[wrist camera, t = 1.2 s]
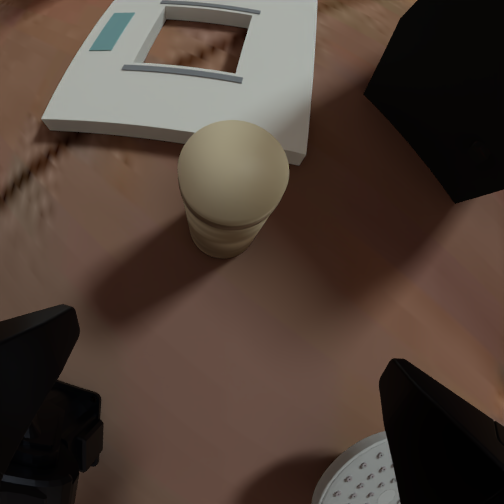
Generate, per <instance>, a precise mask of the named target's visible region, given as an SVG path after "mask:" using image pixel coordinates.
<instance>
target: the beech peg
mask: <svg viewBox="0 0 504 504" xmlns="http://www.w3.org/2000/svg"><path fill="white" fill-rule="evenodd" d="M288 180H289V163H288V159H287V156H286V154H285V151H284V149H283V148H282V146H281V145H280V143H279V142H278V141H277V139H276V138H275V137H274V136H273V135H271V134H270V133H269V132H268V131H266V130H265V129H263V128H261V127H259V126H257V125H255V124H252V123H249V122H245V121H239V120H224V121H219V122H215V123H212V124H209V125H207V126H205V127H203V128H201V129H200V130H198V131H197V132H196V133H194V134H193V135H192V136H191V137H190V138H189V139H188V141H187V142H186V143H185V145H184V147H183V149H182V151H181V153H180V156H179V160H178V182H179V188H180V192H181V196H182V199H183V202H184V207H185V212H186V216H187V221H188V225H189V230H190V234H191V237H192V240H193V241H194V243H195V245H196V246H197V247H198V248H199V249H200V250H201V251H202V252H203V253H205V254H207V255H209V256H211V257H214V258H220V259H226V258H232V257H235V256H237V255H239V254H241V253H242V252H244V251H245V250H246V249H247V248H248V247H249V246H250V244H251V243H252V241H253V240H254V238H255V237H256V235H257V234H258V232H259V231H260V229H261V228H262V226H263V225H264V223H265V221H266V220H267V218H268V217H269V215H270V214H271V213H272V212H273V211H274V210H275V208H276V207H277V205H278V204H279V202H280V200H281V198H282V196H283V194H284V192H285V190H286V187H287V184H288Z"/></svg>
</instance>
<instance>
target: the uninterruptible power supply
mask: <svg viewBox="0 0 504 504" xmlns="http://www.w3.org/2000/svg"><path fill="white" fill-rule="evenodd" d="M364 95H365V96H366V97H367V98H368V99H369V100H370V101H371V102H372V103H373V104H374V105H375V106H376V107H377V108H378V110H379V111H380V112H381V113H382V114H383V115H384V116H385V117H386V118H387V119H388V120H389V121H390V122H391V124H392V125H393V126H394V127H395V128H396V129H397V130H398V131H399V133H400V134H401V135H402V136H403V137H404V138H405V139H406V141H407V142H408V143H409V144H410V145H411V147H412V148H413V149H414V150H415V151H416V153H417V154H418V155H419V156H420V158H421V159H422V160H423V161H424V163H425V164H426V165H427V166H428V168H429V169H430V170H431V172H432V173H433V174H434V175H435V177H436V178H437V179H438V181H439V182H440V183H441V185H442V186H443V188H444V189H445V190H446V192H447V193H448V195H449V196H450V197H451V199H452V200H453V202H454V203H455V204H456V203H459V202H463V201H466V200H469V199H473V198H476V197H480V196H483V195H486V194H490V193H493V192H497V191H500V190H503V189H504V0H417V1H416V2H415V4H414V5H413V6H412V7H411V8H410V9H409V10H408V11H407V12H406V13H405V14H404V15H403V16H402V17H401V18H400V20H399V22H398V24H397V26H396V29H395V31H394V33H393V35H392V37H391V39H390V41H389V43H388V45H387V47H386V49H385V51H384V53H383V56H382V58H381V60H380V62H379V64H378V66H377V68H376V70H375V72H374V74H373V76H372V78H371V80H370V82H369V84H368V86H367V88H366V90H365V92H364Z"/></svg>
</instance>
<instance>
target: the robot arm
mask: <svg viewBox="0 0 504 504" xmlns="http://www.w3.org/2000/svg"><path fill="white" fill-rule="evenodd" d="M79 334H80V328H79V323H78V319H77V315H76V311H75V309H74V308H73V307H71V306H68V305H64V304H61V305H57V306H54V307H50V308H47V309H43V310H40V311H36V312H33V313H29V314H25V315H22V316H18V317H15V318H11V319H8V320H4V321H1V322H0V504H74V503H75V496H76V490H77V484H78V478H79V471H80V472H83V473H84V472H86V471H87V470H88V469H89V467H90V466H93V467H94V466H96V465H97V464H98V462H99V454H100V453H101V451H102V449H103V422H102V420H100V410H101V397H100V395H99V394H98V393H96V392H93V391H90V390H87V389H83V388H80V387H77V386H74V385H71V384H68V383H65V382H62V381H59V380H57V379H58V377H59V375H60V374H61V372H62V370H63V368H64V366H65V364H66V362H67V360H68V358H69V356H70V354H71V352H72V350H73V348H74V346H75V344H76V342H77V340H78V337H79ZM379 390H380V398H381V405H382V413H383V421H384V427H385V432H386V436H387V441H388V445H389V449H390V454H391V458H392V463H393V468H394V472H395V477H396V482H397V487H398V493H399V498H400V503H401V504H504V426H502V425H501V424H499V423H498V422H496V421H494V420H493V419H491V418H490V417H488V416H487V415H485V414H484V413H483V412H481V411H480V410H478V409H477V408H475V407H474V406H472V405H471V404H469V403H468V402H467V401H465V400H464V399H462V398H461V397H459V396H458V395H456V394H455V393H453V392H452V391H450V390H449V389H448V388H446V387H445V386H443V385H442V384H440V383H439V382H437V381H436V380H434V379H433V378H432V377H430V376H429V375H427V374H426V373H424V372H423V371H421V370H420V369H418V368H417V367H416V366H414V365H413V364H411V363H410V362H408V361H407V360H405V359H398V358H393V359H391V360H390V362H389V363H388V365H387V367H386V369H385V370H384V372H383V374H382V375H381V377H380V380H379ZM92 396H94V397H95V398H96V401H93V400H92Z"/></svg>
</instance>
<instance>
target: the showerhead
mask: <svg viewBox="0 0 504 504" xmlns="http://www.w3.org/2000/svg"><path fill="white" fill-rule="evenodd" d="M312 504H401V503H400V498H399V493H398V487H397V482H396V477H395V472H394V468H393V463H392V458H391V454H390V449H389V445H388V441H387V436H386V432H385V431H384V432H380V433H377V434H374V435H371V436H369V437H367V438H365V439H363V440H361V441H359V442H357V443H356V444H354V445H353V446H351V447H350V448H348V449H347V450H346V451H344V452H343V453H342V454H341V455H340V456H339V457H337V458H336V459H335V460H334V461H333V462H332V463H331V465H330V466H329V467H328V468H327V469H326V471H325V472H324V473H323V475H322V476H321V478H320V480H319V481H318V483H317V485H316V488H315V490H314V493H313V497H312Z"/></svg>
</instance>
